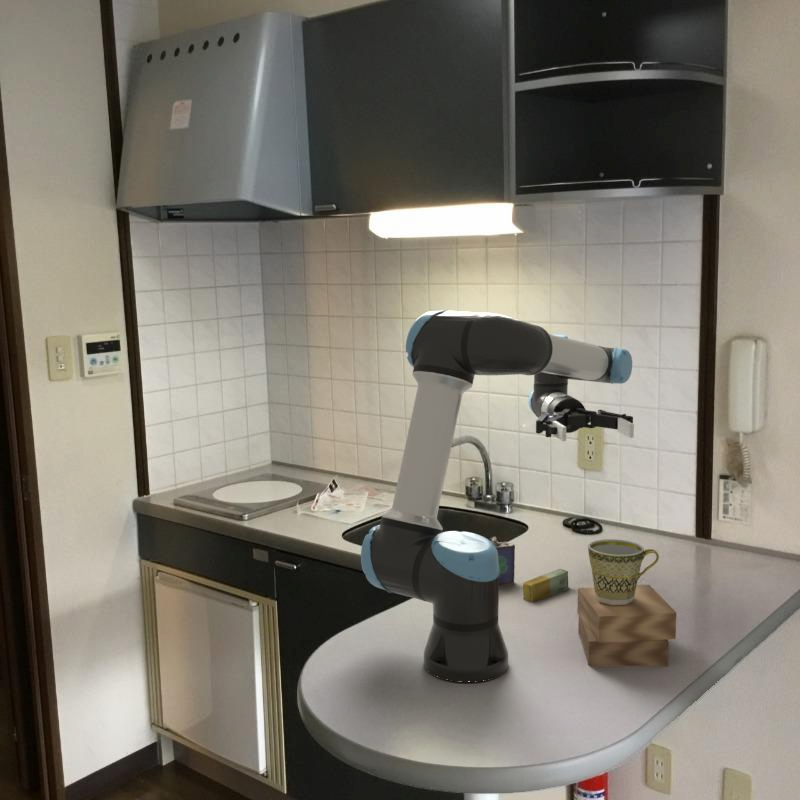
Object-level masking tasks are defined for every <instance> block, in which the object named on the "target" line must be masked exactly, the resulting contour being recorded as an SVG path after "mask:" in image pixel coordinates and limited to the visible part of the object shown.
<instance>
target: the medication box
mask: <svg viewBox="0 0 800 800" xmlns="http://www.w3.org/2000/svg"><path fill="white" fill-rule="evenodd" d="M567 589H569V571H568V570H566V569H561V568H558V569H556V570H553V571H550V572H548V573H545V574H543V575H539V576H537V577H534V578H532V579H529V580H526V581H523V582H522V591H523V598H522V599H523V600H525V601H529V602H532V603H533V602H536V601H538V600H541V599H544V598H546V597H549V596H552V595H554V594H557V593H559V592H562V591H564V590H565V591H566V590H567Z"/></svg>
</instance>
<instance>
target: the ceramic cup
mask: <svg viewBox="0 0 800 800" xmlns="http://www.w3.org/2000/svg"><path fill="white" fill-rule="evenodd" d="M587 548H588V549H587V551H588V557H589V559H588V560H589V564H590V568H591V575H592V580H593V587H594V590H595V596H596V598H597V600H598V601H599V602H601V603H605V604H609V605H627V604H629V603H631V602H633V600H634V595H635V590H636V585H638V582H639V579H640V578H641V576H643V575H644V574H646V572H647V571H648V570H649V569H651V568H652V567H653V566H655V565H656V564H657V563H658V562H659V559H660V556H659V553H658V552H657V550H655V549H649V548H648V549H645V548H644V546H643V545H641V544H640V543H637V542H634V541H630V540H625V539H614V538H613V539H611V538H609V539H608V538H607V539H598V540H594V541H592V542H589V543H588V544H587ZM650 554H655V555H656V556H655V560H654V561H653V562H652V563H650V564H649V565H648V566H646V567H645V568H644V569H643V570H642V572H641V566H642V563H643V560H644V558H645V557H646V556H648V555H650Z"/></svg>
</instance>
